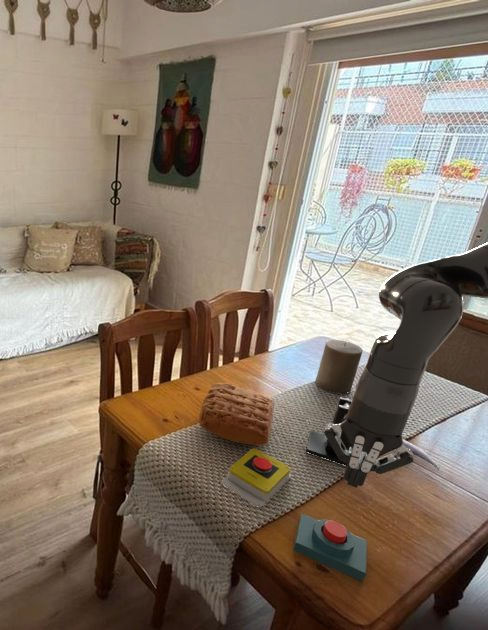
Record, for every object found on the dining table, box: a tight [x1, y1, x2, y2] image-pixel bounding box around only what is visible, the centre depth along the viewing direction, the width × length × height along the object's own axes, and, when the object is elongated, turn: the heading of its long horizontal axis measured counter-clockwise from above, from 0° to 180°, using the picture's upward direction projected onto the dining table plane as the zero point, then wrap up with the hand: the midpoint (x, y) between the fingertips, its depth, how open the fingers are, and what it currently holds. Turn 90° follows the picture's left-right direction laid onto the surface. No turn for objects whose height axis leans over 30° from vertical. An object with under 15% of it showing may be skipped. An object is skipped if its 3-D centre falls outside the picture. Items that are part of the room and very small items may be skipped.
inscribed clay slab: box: [198, 382, 275, 446], centre depth 114 cm, size 22×17×8 cm
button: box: [323, 520, 348, 544], centre depth 80 cm, size 4×4×2 cm
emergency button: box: [221, 447, 292, 508], centre depth 97 cm, size 9×4×15 cm
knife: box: [334, 410, 441, 472], centre depth 111 cm, size 8×3×25 cm
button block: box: [292, 513, 368, 583], centre depth 81 cm, size 11×8×4 cm
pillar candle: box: [314, 339, 364, 395], centre depth 133 cm, size 10×10×15 cm
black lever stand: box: [305, 396, 365, 466], centre depth 104 cm, size 12×9×14 cm
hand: (352, 483), depth 75 cm, fingers closed
